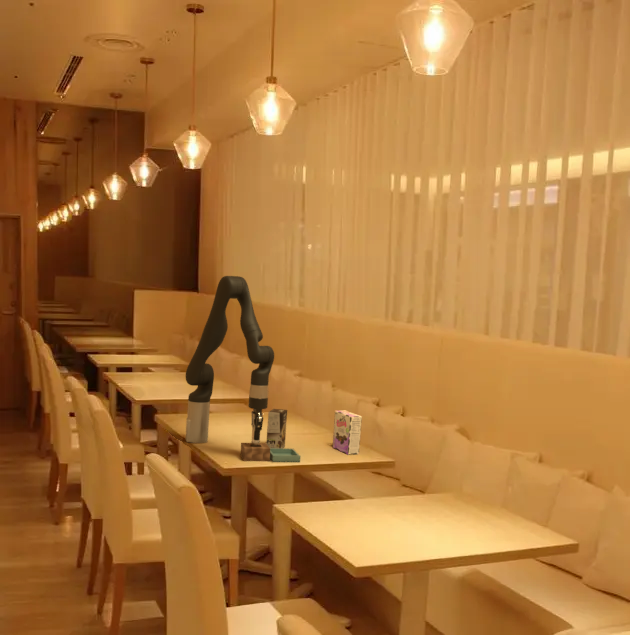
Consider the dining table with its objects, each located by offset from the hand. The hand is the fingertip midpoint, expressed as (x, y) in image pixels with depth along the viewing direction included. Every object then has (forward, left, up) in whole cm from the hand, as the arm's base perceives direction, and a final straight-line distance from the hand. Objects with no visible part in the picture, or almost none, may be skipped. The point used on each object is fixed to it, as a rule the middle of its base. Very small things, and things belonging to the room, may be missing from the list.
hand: (255, 438), depth 311 cm
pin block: (0, 0, -8) cm, 8 cm away
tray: (+12, 0, -8) cm, 14 cm away
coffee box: (+12, +18, -8) cm, 23 cm away
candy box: (+42, +14, -8) cm, 45 cm away
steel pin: (0, 0, -6) cm, 6 cm away
